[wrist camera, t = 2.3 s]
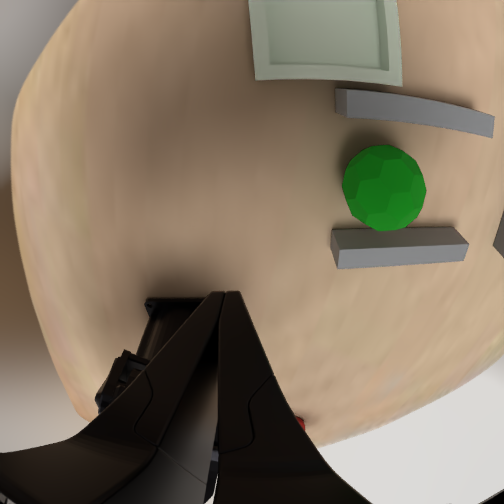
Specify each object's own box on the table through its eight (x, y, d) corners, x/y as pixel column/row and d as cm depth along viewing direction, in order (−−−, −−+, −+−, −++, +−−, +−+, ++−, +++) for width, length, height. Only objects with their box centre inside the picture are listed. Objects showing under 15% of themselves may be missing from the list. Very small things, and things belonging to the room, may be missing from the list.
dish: (256, 80, 14) (255, 80, 13) (245, -36, 10) (243, -47, 8) (389, 85, 14) (402, 86, 12) (379, -27, 9) (390, -35, 8)
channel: (330, 253, 20) (336, 275, 18) (334, 80, 14) (346, 80, 12) (499, 245, 19) (513, 260, 17) (526, 121, 12) (546, 129, 10)
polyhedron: (392, 214, 18) (420, 252, 14) (327, 202, 18) (344, 241, 14) (412, 148, 16) (450, 172, 12) (344, 129, 16) (370, 147, 12)
